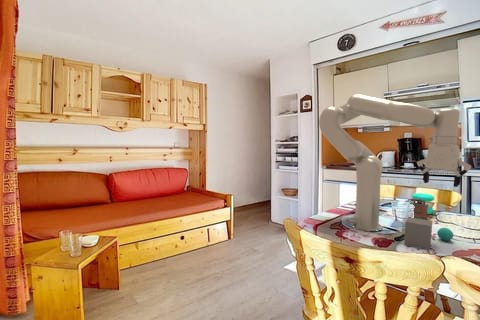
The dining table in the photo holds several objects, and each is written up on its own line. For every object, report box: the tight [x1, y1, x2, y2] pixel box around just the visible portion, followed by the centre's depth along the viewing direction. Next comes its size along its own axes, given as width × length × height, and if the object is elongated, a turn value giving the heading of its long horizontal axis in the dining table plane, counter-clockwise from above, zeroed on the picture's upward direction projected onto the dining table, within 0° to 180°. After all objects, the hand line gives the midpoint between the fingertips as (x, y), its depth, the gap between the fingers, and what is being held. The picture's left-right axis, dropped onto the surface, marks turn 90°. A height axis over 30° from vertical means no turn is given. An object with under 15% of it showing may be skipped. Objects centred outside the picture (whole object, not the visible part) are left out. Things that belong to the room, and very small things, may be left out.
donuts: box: [411, 192, 435, 215], centre depth 146 cm, size 10×10×10 cm
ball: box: [436, 227, 454, 242], centre depth 104 cm, size 5×5×5 cm
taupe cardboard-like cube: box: [403, 217, 433, 251], centre depth 100 cm, size 8×8×9 cm
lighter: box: [409, 197, 429, 220], centre depth 134 cm, size 8×3×10 cm, turn 58°
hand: (440, 184), depth 104 cm, fingers open, 9 cm apart
